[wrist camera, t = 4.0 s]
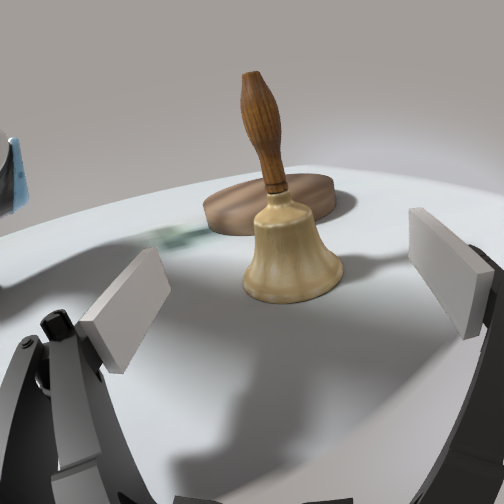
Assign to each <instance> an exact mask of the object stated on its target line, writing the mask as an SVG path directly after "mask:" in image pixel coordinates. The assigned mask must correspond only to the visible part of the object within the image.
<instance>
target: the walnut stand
mask: <svg viewBox="0 0 504 504" xmlns="http://www.w3.org/2000/svg"><path fill="white" fill-rule="evenodd" d="M285 176H286V182H287V183H288V189H289V191H290V196H291V199H292V200H293V201H294V202H297V203H300V204H304V205H306V206H308V207H309V208H310V209H311V211H312V214H313V218H314V221H316V220H318V219H320V218H322V217H324V216H326V215H327V214H329V213H330V212H331V211H332V210H333V209H334V208H335V206H336V198H335V190H334V182H333V179H332V178H330V177H328V176H325V175H320V174H287V175H285ZM267 205H268V198H267V192H266V191H265V183H264V180H263V178H261V179H256V180H252V181H248V182H244V183H240V184H237V185H234V186H231V187H228V188H226V189H223V190H221V191H219V192H217V193H215V194H213V195H211V196H210V197H208V198H207V199H206V200H205V201H204V202H203V207H204V211H205V215H206V219H207V222H208V226H209V228H210V229H211V230H212V231H214V232H216V233H219V234H224V235H234V236H247V235H255V231H254V218H255V216H256V215H257V214H258V213H259V212H260V211H262V210H263V209H264V208H265V207H266V206H267Z"/></svg>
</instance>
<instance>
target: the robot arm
mask: <svg viewBox="0 0 504 504" xmlns="http://www.w3.org/2000/svg"><path fill="white" fill-rule="evenodd" d="M28 200H29V193H28V188H27V183H26V179H25V174H24V168H23V162H22V157H21V150H20V144H19V140H18V138H10V139H8V138H7V136H6V134H5V133H4V132H3V131H2V130H0V219H2V218H4V217H5V216H8V215H10V214H13V213H14V212H15V211H16V210H18V209H20V208H22V207H24V206H25V205H26V204H27V202H28ZM409 260H410V261H411V263H412V264H413V265H414V267H415V268H416V270H417V271H418V272H419V274H420V275H421V277H422V278H423V279H424V281H425V282H426V284H427V285H428V287H429V288H430V289H431V291H432V292H433V294H434V295H435V297H436V298H437V300H438V301H439V303H440V304H441V306H442V307H443V309H444V310H445V312H446V313H447V315H448V317H449V318H450V320H451V321H452V323H453V325H454V326H455V328H456V329H457V331H458V333H459V334H460V336H461V338H462V339H463V340H465V339H469V338H472V337H476V336H479V334H480V331H481V327H482V323H484V324H485V326H486V327H487V333H486V336H485V339H484V342H483V345H482V348H481V354H480V357H479V361H478V363H477V367H476V370H475V373H474V376H473V378H472V382H471V384H470V387H469V390H468V392H467V395H466V398H465V400H464V402H463V405H462V407H461V410H460V412H459V415H458V417H457V419H456V421H455V424H454V426H453V428H452V430H451V432H450V435H449V437H448V439H447V441H446V443H445V445H444V447H443V449H442V451H441V453H440V455H439V456H438V458H437V460H436V462H435V464H434V466H433V467H432V469H431V471H430V473H429V474H428V476H427V478H426V479H425V481H424V483H423V485H422V486H421V488H420V489H419V491H418V492H417V494H416V495H415V497H414V498H413V499H412V501H411V502H410V504H494V502H495V499H496V497H497V495H498V492H499V490H500V488H501V485H502V483H503V480H504V465H503V460H504V270H503V269H502V268H501V267H499V266H498V265H497V264H496V263H495V262H494V261H493V260H491V258H490V257H489V256H486V254H485V253H484V252H483V251H482V250H481V249H479V248H477V247H475V246H473V245H471V244H470V245H467V244H466V243H465V242H463V241H462V240H461V239H460V238H459V237H458V236H457V235H455V234H454V233H453V232H452V231H451V230H450V229H448V228H447V227H446V226H445V225H444V224H442V223H441V222H440V221H439V220H437V219H436V218H435V217H434V216H432V215H431V214H430V213H429V212H427V211H426V210H425V209H424V208H422V207H421V208H413V209H409ZM170 292H171V287H170V285H169V282H168V279H167V276H166V274H165V271H164V268H163V265H162V262H161V259H160V256H159V253H158V250H157V247H156V246H155V247H149V248H144V249H143V250H142V251H141V252H140V253H139V254H138V255H137V256H136V257H135V258H134V260H133V261H132V262H131V263H130V264H129V265H128V266H127V267H126V268H125V269H124V270H123V271H122V272H121V274H120V275H119V276H118V277H117V278H116V279H115V280H114V281H113V282H112V283H111V285H110V286H109V287H108V288H107V289H106V290H105V291H104V292H103V294H102V295H101V296H100V297H99V298H98V299H97V300H96V301H95V302H94V303H93V305H92V306H91V307H90V308H89V309H88V310H87V312H86V313H85V314H84V315H83V316H82V317H81V319H80V320H79V321H78V322H77V323H76V325H75V326H73V324H72V322H71V320H70V318H69V317H68V315H67V313H66V311H65V310H63V309H61V310H56V311H54V312H52V313H50V314H48V315H47V316H46V317H45V318H44V319H43V320H42V321H41V323H40V325H41V327H42V329H43V331H44V332H45V334H46V336H47V337H48V339H49V341H50V342H47V343H43V344H42V342H41V341H40V339H39V337H38V336H37V335H31V336H29V337H28V336H27V337H25V338H24V339H22V341H21V342H20V343H19V345H18V346H17V348H16V350H15V352H14V355H13V357H12V359H11V362H10V364H9V367H8V369H7V372H6V374H5V377H4V379H3V382H2V384H1V387H0V504H157V503H156V502H155V501H154V499H153V498H152V497H151V495H150V493H149V491H148V489H147V487H146V485H145V483H144V481H143V479H142V477H141V475H140V473H139V470H138V468H137V466H136V464H135V462H134V459H133V457H132V455H131V452H130V450H129V448H128V445H127V443H126V440H125V438H124V435H123V433H122V430H121V427H120V425H119V422H118V419H117V416H116V414H115V411H114V408H113V405H112V402H111V399H110V396H109V393H108V390H107V387H106V383H105V380H104V377H103V374H102V373H101V371H100V370H99V368H100V366H101V365H102V363H103V364H104V366H105V367H106V369H107V370H108V372H109V373H115V374H124V372H125V370H126V368H127V366H128V365H129V363H130V361H131V359H132V357H133V356H134V354H135V352H136V350H137V349H138V347H139V345H140V343H141V342H142V340H143V338H144V336H145V335H146V333H147V331H148V329H149V328H150V326H151V324H152V322H153V321H154V319H155V317H156V316H157V314H158V312H159V310H160V309H161V307H162V305H163V304H164V302H165V300H166V299H167V297H168V295H169V294H170ZM35 379H36V380H37V381H38V383H39V384H40V388H39V387H38V385H37V383H36V380H35ZM58 458H59V463H60V471H58ZM173 504H222V503H219V502H216V501H211V500H202V499H194V498H187V497H181V496H175V498H174V501H173ZM303 504H353V498H347V499H339V500H330V501H320V502H307V503H303Z"/></svg>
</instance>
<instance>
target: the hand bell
mask: <svg viewBox="0 0 504 504" xmlns="http://www.w3.org/2000/svg"><path fill="white" fill-rule="evenodd" d="M241 113H242V118H243V123H244V126H245V129H246V132H247V134H248V137H249V139H250V141H251V143H252V145H253V146H254V147H255V150H256V152H257V154H258V156H259V159H260V163H261V168H262V174H263V180H264V183H265V191H266V192H267V198H268V205H267V206H266V207H265V208H264V209H263V210H262V211H260V212H259V213H258V214H257V215H256V216H255V218H254V231H255V251H254V257H253V260H252V263H251V264H250V265H249V267H248V268H247V270H246V272H245V274H244V277H243V287H244V289H245V291H246V293H247V294H248V295H250V296H251V297H253V298H255V299H257V300H260V301H263V302H268V303H276V304H287V303H296V302H301V301H306V300H309V299H312V298H315V297H318V296H320V295H322V294H324V293H326V292H328V291H329V290H331V289H332V288H333V287H334V286H335V285H336V284H337V283H338V282H339V281H340V279H341V278H342V276H343V271H344V268H343V265H342V263H341V261H340V259H339V258H338V257H337V256H336V255H335V254H334V253H332V252H331V251H329V250H328V249H327V248H326V246H325V245H324V243H323V242H322V240H321V238H320V236H319V233H318V231H317V228H316V225H315V221H314V218H313V214H312V211H311V209H310V208H309V207H308V206H306V205H304V204H300V203H297V202H294V201H293V200H292V199H291V196H290V191H289V189H288V183H287V182H286V176H285V172H284V168H283V164H282V160H281V152H280V143H281V122H280V116H279V111H278V107H277V104H276V101H275V99H274V96H273V95H272V93H271V91H270V89H269V88H268V86H267V85H266V83H265V81H264V80H263V78H262V76H261V74H260V72H259V71H253V72H248V73H245V74H243V75H242V91H241Z"/></svg>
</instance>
